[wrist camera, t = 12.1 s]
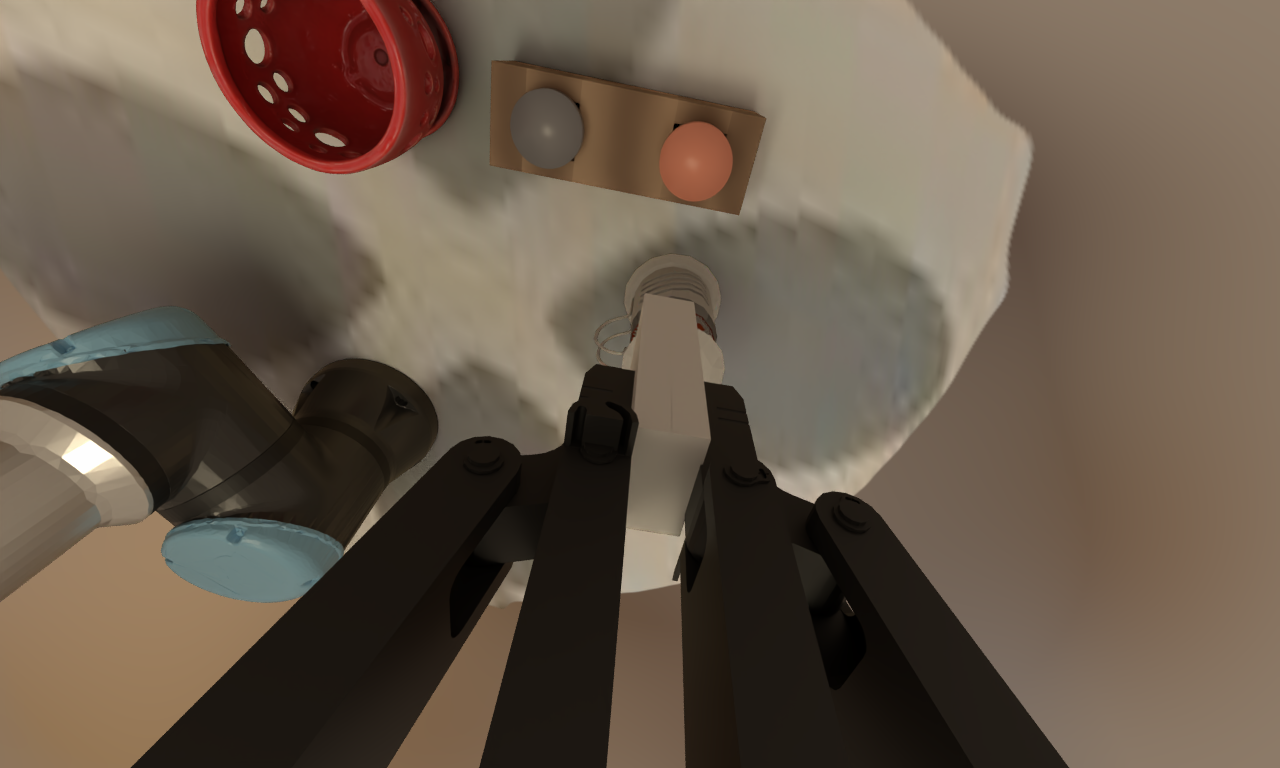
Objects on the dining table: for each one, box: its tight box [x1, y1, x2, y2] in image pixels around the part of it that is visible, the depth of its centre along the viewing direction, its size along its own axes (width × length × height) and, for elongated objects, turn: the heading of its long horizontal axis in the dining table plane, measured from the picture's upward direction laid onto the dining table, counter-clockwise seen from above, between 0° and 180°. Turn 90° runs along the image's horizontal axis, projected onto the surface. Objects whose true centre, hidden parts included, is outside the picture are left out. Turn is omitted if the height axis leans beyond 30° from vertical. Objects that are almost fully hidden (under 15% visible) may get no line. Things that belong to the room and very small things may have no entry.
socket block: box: [490, 61, 766, 215], centre depth 41 cm, size 20×7×6 cm, turn 80°
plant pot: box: [196, 0, 459, 174], centre depth 36 cm, size 13×13×12 cm
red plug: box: [659, 121, 733, 202], centre depth 39 cm, size 5×5×7 cm
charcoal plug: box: [510, 88, 584, 169], centre depth 40 cm, size 5×5×7 cm
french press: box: [594, 254, 725, 384], centre depth 41 cm, size 10×12×25 cm
